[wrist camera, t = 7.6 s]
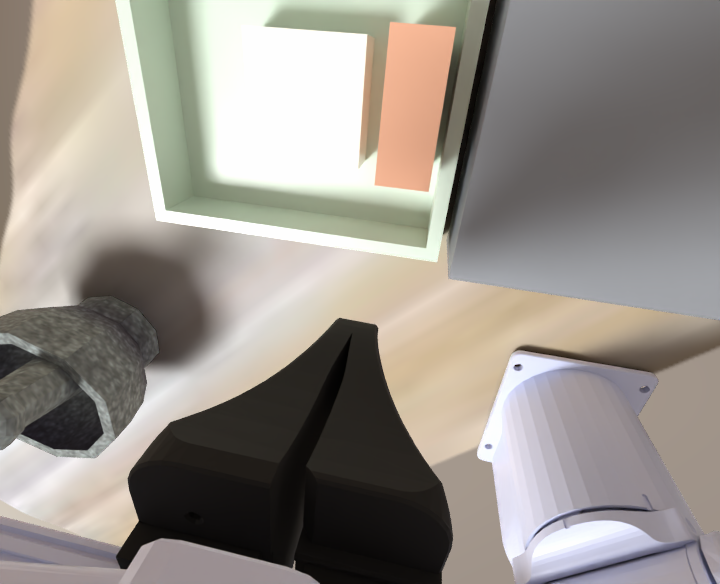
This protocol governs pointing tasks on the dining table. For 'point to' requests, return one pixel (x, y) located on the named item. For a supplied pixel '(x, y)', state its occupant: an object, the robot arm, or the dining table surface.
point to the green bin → (230, 123)
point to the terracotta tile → (412, 103)
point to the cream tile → (308, 95)
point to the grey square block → (596, 155)
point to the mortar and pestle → (73, 374)
